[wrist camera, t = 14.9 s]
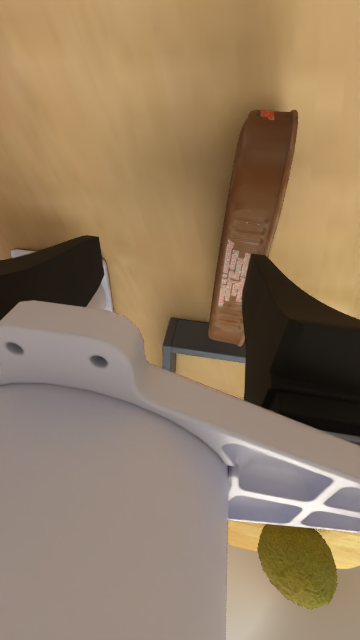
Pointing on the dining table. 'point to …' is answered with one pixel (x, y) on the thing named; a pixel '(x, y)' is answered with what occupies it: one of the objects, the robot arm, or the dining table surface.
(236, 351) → the box
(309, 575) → the fruit
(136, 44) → the dining table surface
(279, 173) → the tin
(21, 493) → the robot arm
